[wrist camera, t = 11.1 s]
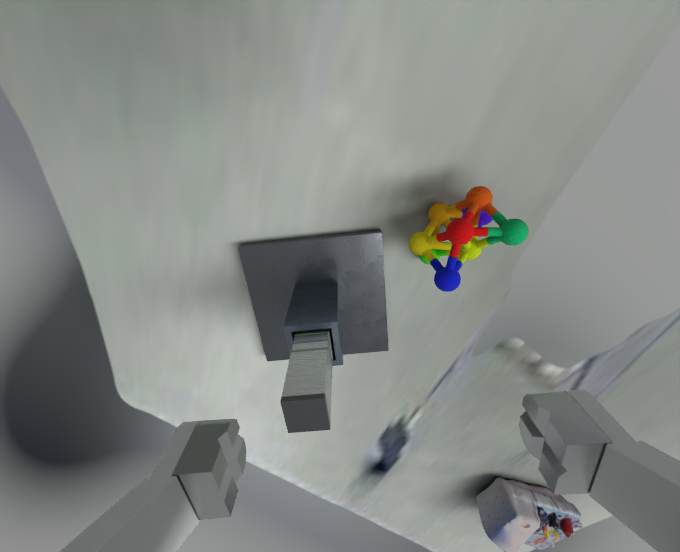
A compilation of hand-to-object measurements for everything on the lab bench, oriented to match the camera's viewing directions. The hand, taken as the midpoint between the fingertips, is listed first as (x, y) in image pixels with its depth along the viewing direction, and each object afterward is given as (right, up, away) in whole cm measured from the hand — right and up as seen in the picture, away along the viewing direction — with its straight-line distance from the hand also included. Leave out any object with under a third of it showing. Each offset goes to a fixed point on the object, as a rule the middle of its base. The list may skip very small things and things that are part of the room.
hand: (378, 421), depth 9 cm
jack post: (-4, -2, +35) cm, 36 cm away
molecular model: (+14, +12, +36) cm, 40 cm away
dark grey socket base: (-4, +1, +41) cm, 41 cm away
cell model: (+38, -44, +62) cm, 85 cm away
